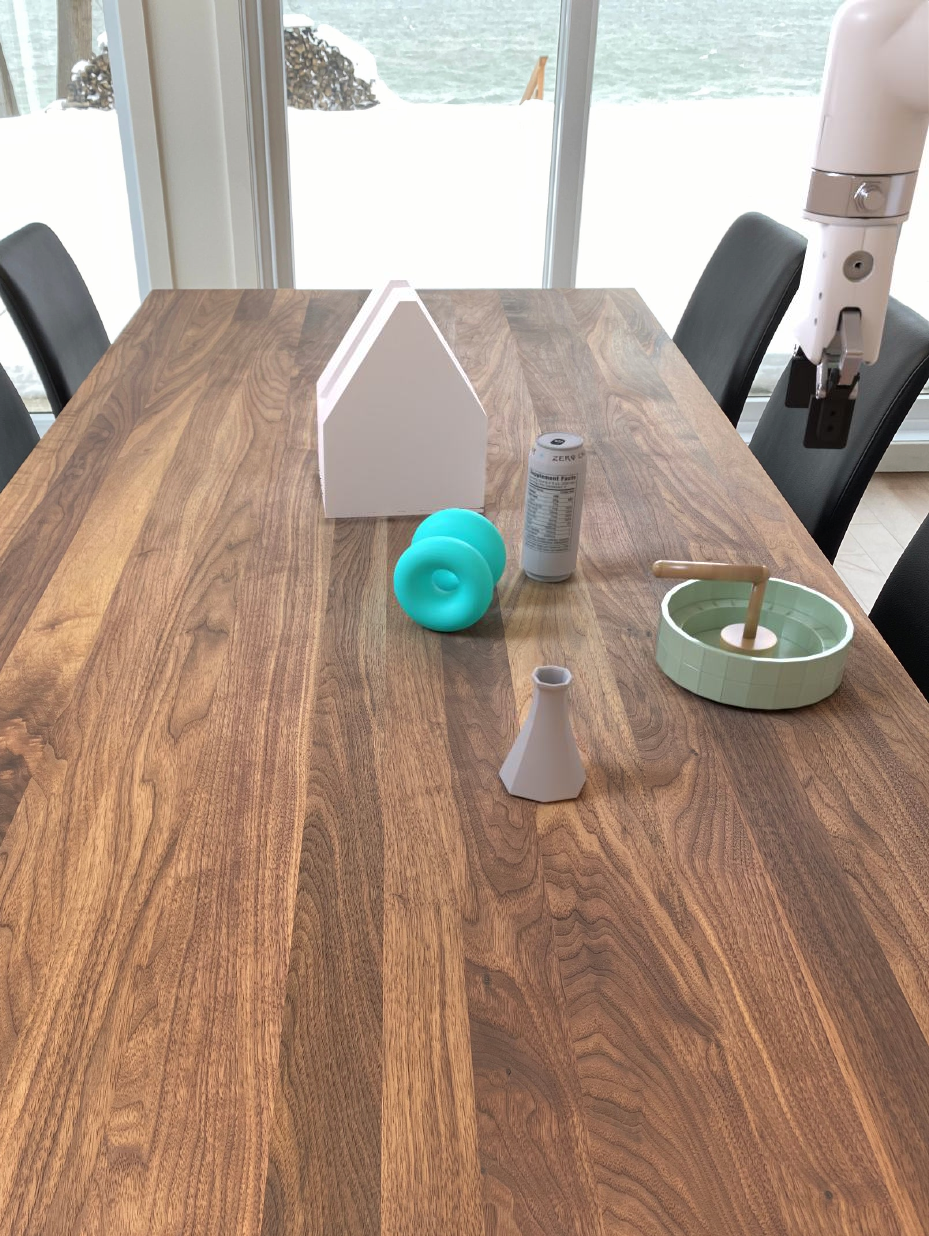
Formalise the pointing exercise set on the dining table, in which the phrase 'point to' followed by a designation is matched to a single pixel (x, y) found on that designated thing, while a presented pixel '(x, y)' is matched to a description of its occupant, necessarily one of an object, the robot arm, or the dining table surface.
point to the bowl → (792, 679)
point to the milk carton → (398, 415)
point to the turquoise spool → (450, 570)
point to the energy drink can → (553, 506)
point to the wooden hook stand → (748, 634)
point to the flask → (546, 744)
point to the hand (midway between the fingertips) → (812, 426)
